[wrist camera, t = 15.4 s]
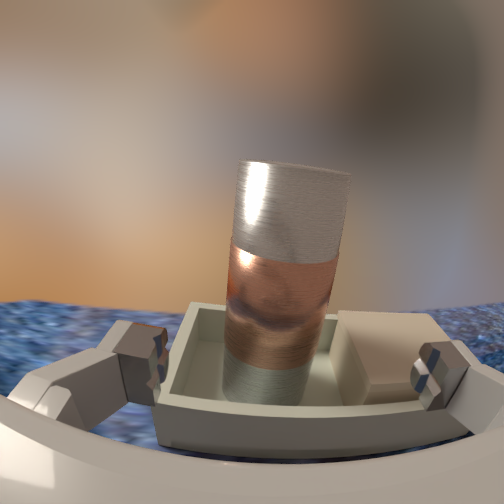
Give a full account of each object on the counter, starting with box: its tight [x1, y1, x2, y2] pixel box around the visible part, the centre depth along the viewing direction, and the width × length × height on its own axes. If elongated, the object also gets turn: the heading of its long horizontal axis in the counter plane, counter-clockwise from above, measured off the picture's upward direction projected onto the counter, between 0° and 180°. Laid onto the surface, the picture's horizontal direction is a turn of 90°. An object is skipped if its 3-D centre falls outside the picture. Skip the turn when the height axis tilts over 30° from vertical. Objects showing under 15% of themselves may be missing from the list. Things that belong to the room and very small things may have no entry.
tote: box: [151, 302, 469, 459], centre depth 19 cm, size 21×11×4 cm, turn 89°
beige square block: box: [329, 310, 451, 406], centre depth 18 cm, size 8×8×4 cm
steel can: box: [222, 159, 351, 406], centre depth 17 cm, size 6×6×14 cm
